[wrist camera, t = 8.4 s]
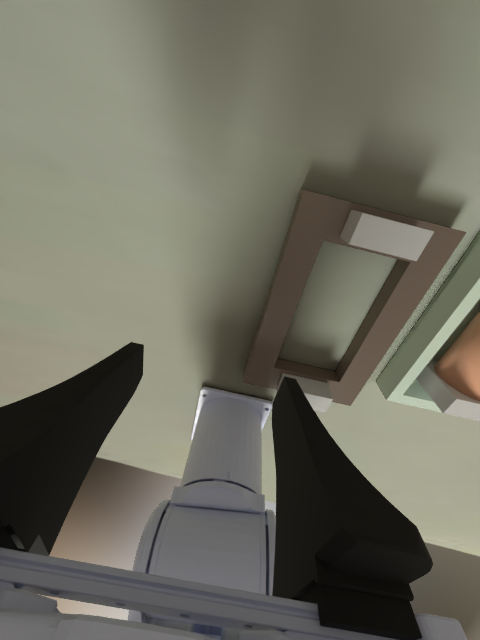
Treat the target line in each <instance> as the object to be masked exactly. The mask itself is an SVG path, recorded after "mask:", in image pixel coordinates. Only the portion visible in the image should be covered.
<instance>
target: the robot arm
mask: <svg viewBox="0 0 480 640" xmlns="http://www.w3.org/2000/svg"><path fill="white" fill-rule="evenodd" d="M143 349H144V345H142V344H137V343H133V342H131V343H129V344H128V345H126V346H124V347H123V348H121V349H120V350H118V351H116V352H115V353H113V354H112V355H110V356H108V357H107V358H105V359H104V360H102V361H100V362H99V363H97V364H95V365H94V366H92V367H90V368H88V369H87V370H85V371H83V372H81V373H79V374H77V375H76V376H74V377H72V378H70V379H68V380H66V381H64V382H62V383H60V384H58V385H55V386H53V387H51V388H49V389H47V390H44V391H42V392H40V393H37V394H35V395H32V396H30V397H27V398H24V399H22V400H19V401H17V402H14V403H12V404H9V405H6V406H3V407H0V640H467V638H466V636H465V634H464V631H463V629H462V627H461V625H460V623H459V622H458V621H457V620H456V619H452V618H447V617H442V616H436V615H430V614H414V613H413V610H412V607H411V604H410V601H412V600H413V597H414V596H413V594H412V591H411V589H410V586H409V583H411V582H413V581H415V580H416V579H418V578H420V577H422V576H424V575H425V574H427V573H428V572H430V570H431V568H432V566H433V562H432V559H431V557H430V555H429V552H428V550H427V548H426V546H425V544H424V541H423V539H422V537H421V535H420V533H419V531H418V529H417V527H416V526H415V525H414V524H413V523H412V522H411V521H410V520H409V519H408V518H406V517H405V516H404V515H403V514H402V513H401V512H400V511H399V510H398V509H397V508H395V507H394V506H393V505H392V504H391V503H390V502H389V501H388V500H387V499H386V498H385V497H384V496H383V495H382V494H381V493H380V492H379V491H378V490H377V489H376V488H375V487H374V486H373V485H372V484H371V483H370V482H369V481H368V480H367V479H366V478H365V477H364V476H363V475H362V474H361V472H360V471H359V470H358V469H357V468H356V467H355V466H354V465H353V463H352V462H351V461H350V460H349V459H348V458H347V456H346V455H345V454H344V453H343V451H342V450H341V449H340V448H339V446H338V445H337V444H336V442H335V441H334V440H333V438H332V437H331V436H330V434H329V433H328V431H327V430H326V429H325V427H324V426H323V424H322V423H321V421H320V420H319V418H318V416H317V415H316V413H315V411H314V410H313V408H312V407H311V405H310V403H309V401H308V400H307V398H306V396H305V394H304V393H303V391H302V389H301V387H300V385H299V384H298V382H297V380H296V379H294V378H290V377H285V376H284V378H283V380H282V383H281V385H280V387H279V390H278V392H277V394H276V397H275V399H274V401H273V406H272V402H271V401H269V400H264V399H260V398H255V397H250V396H246V395H241V394H237V393H232V392H228V391H223V390H218V389H214V388H209V387H202V388H201V391H200V395H199V400H198V405H197V410H196V415H195V420H194V425H193V430H192V436H191V440H192V444H191V447H190V451H189V455H188V459H187V463H186V466H185V470H184V474H183V478H182V482H181V486H180V487H177V486H175V487H174V490H173V494H172V497H171V500H164V501H162V502H161V503H160V504H159V506H158V507H157V508H156V509H155V510H154V511H153V512H152V514H151V515H150V517H149V519H148V521H147V524H146V526H145V528H144V531H143V533H142V536H141V539H140V543H139V546H138V549H137V553H136V557H135V561H134V566H133V571H129V570H124V569H118V568H112V567H107V566H101V565H96V564H90V563H85V562H79V561H73V560H68V559H62V558H56V557H51V556H49V554H50V552H51V550H52V548H53V545H54V543H55V541H56V538H57V536H58V533H59V532H60V529H61V527H62V525H63V523H64V520H65V518H66V516H67V514H68V512H69V510H70V508H71V505H72V503H73V501H74V499H75V497H76V495H77V493H78V491H79V489H80V486H81V485H82V482H83V480H84V479H85V477H86V475H87V473H88V471H89V469H90V467H91V465H92V462H93V461H94V459H95V457H96V455H97V453H98V451H99V449H100V447H101V445H102V443H103V442H104V440H105V438H106V437H107V435H108V433H109V432H110V430H111V429H112V427H113V426H114V424H115V422H116V421H117V419H118V418H119V416H120V415H121V413H122V412H123V410H124V408H125V407H126V405H127V404H128V402H129V401H130V399H131V397H132V396H133V394H134V392H135V390H136V388H137V386H138V384H139V382H140V380H141V378H142V376H143ZM204 394H206V395H204ZM271 409H272V430H273V441H274V453H275V464H276V516H275V514H274V512H273V511H272V510H266V511H265V504H264V503H265V496H264V495H262V442H261V432H262V430H263V427H264V425H265V423H266V420H267V418H268V416H269V413H270V411H271ZM38 594H40V595H38ZM41 595H46V596H52V597H58V598H64V599H70V600H76V601H81V602H87V603H94V604H99V605H105V606H111V607H117V608H123V609H128V610H129V615H128V621H126V620H119V619H112V618H106V617H100V616H92V615H82V614H75V615H74V614H63V613H60V612H59V611H58V609H57V608H56V607H57V601H56V600H53V599H50V598H47V597H44V596H41Z"/></svg>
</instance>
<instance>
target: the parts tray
mask: <svg viewBox="0 0 480 640" xmlns="http://www.w3.org/2000/svg"><path fill="white" fill-rule="evenodd" d="M479 311H480V232H479V233H478V235H477V236H476V238H475V239H474V241H473V242H472V243H471V245H470V246H469V248H468V249H467V251H466V252H465V253H464V255H463V256H462V258H461V259H460V261H459V262H458V264H457V265H456V266H455V268H454V269H453V271H452V272H451V274H450V275H449V277H448V278H447V279H446V281H445V282H444V284H443V285H442V287H441V288H440V290H439V291H438V292H437V294H436V295H435V297H434V298H433V300H432V301H431V302H430V304H429V305H428V307H427V308H426V310H425V311H424V313H423V314H422V315H421V317H420V318H419V320H418V321H417V323H416V324H415V326H414V327H413V328H412V330H411V331H410V333H409V334H408V336H407V337H406V338H405V340H404V341H403V343H402V344H401V346H400V347H399V349H398V350H397V351H396V353H395V354H394V356H393V357H392V359H391V360H390V362H389V363H388V364H387V366H386V367H385V369H384V370H383V372H382V373H381V375H380V376H379V377H378V379H377V380H376V383H377V385H378V386H379V388H380V390H381V392H382V393H383V395H384V397H385V399H386V400H388V401H393V402H397V403H402V404H406V405H411V406H415V407H420V408H424V409H429V410H433V411H438V412H442V411H441V410H440V409H439V408H438V406H437V405H436V404H435V402H434V401H433V400H432V399H431V397H430V396H429V395H428V394H427V392H426V391H425V390H424V389H423V387H422V386H421V385H420V384H419V382H418V381H417V380H416V378H417V376H418V375H419V374H420V373H421V371H422V370H423V369H424V368H425V366H426V365H427V364H428V363H429V361H430V360H436V361H439V359H440V358H441V357H442V356H443V354H444V353H445V352H446V351H447V350H448V348H449V347H450V346H451V345H452V344H453V342H454V341H455V340H456V339H457V337H458V336H459V335H460V334H461V333H462V331H463V330H464V329H465V328H466V327H467V325H468V324H469V323H470V322H471V320H472V319H473V318H474V317H475V316H476V314H477V313H478V312H479Z"/></svg>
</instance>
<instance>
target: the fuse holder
mask: <svg viewBox="0 0 480 640" xmlns="http://www.w3.org/2000/svg"><path fill="white" fill-rule="evenodd" d="M465 234H466V232H464V231H460V230H456V229H452V228H448V227H444V226H441V225H437V224H433V223H429V222H425V221H422V220H418V219H414V218H410V217H406V216H402V215H399V214H395V213H391V212H387V211H383V210H380V209H376V208H372V207H368V206H364V205H360V204H357V203H353V202H349V201H345V200H341V199H338V198H334V197H330V196H326V195H322V194H318V193H315V192H311V191H307V190H303V189H301V191H300V194H299V197H298V200H297V203H296V207H295V210H294V213H293V216H292V220H291V223H290V226H289V229H288V232H287V236H286V239H285V242H284V245H283V249H282V252H281V255H280V258H279V261H278V265H277V268H276V271H275V274H274V278H273V281H272V284H271V287H270V290H269V294H268V297H267V300H266V303H265V307H264V310H263V313H262V316H261V319H260V323H259V326H258V329H257V332H256V336H255V339H254V342H253V345H252V348H251V352H250V355H249V358H248V361H247V365H246V368H245V371H244V380H243V382H245V383H249V384H254V385H258V386H263V387H267V388H272V389H276V390H277V391H278V390H279V387H280V385H281V383H282V380H283V378H284V376H285V377H290V378H294V379H296V380H297V382H298V384H299V385H300V387H301V389H302V391H303V393H304V394H305V396H306V398H307V400H308V401H309V403H310V405H311V407H312V408H313V410H314V411H319V412H324V413H325V412H326V410H327V409H328V407H329V405H330V404H331V402H335V403H340V404H344V405H349V406H351V404H352V403H353V401H354V400H355V398H356V397H357V395H358V394H359V392H360V391H361V389H362V388H363V386H364V385H365V383H366V382H367V380H368V379H369V377H370V376H371V374H372V373H373V371H374V370H375V368H376V367H377V365H378V364H379V362H380V361H381V359H382V358H383V356H384V355H385V353H386V352H387V350H388V349H389V347H390V346H391V344H392V343H393V341H394V340H395V338H396V337H397V335H398V334H399V332H400V331H401V329H402V328H403V326H404V325H405V323H406V322H407V320H408V319H409V317H410V316H411V315H412V313H413V312H414V310H415V309H416V307H417V306H418V304H419V303H420V301H421V300H422V298H423V297H424V295H425V294H426V292H427V291H428V289H429V288H430V286H431V285H432V283H433V282H434V280H435V279H436V277H437V276H438V274H439V273H440V271H441V270H442V268H443V267H444V265H445V264H446V262H447V261H448V259H449V258H450V256H451V255H452V253H453V252H454V250H455V249H456V247H457V246H458V244H459V243H460V241H461V240H462V238H463V237H464V235H465ZM323 240H325V241H329V242H333V243H337V244H341V245H345V246H349V247H353V248H357V249H361V250H365V251H369V252H373V253H377V254H380V255H384V256H388V257H392V258H396V259H398V261H397V263H396V264H395V266H394V268H393V270H392V272H391V273H390V275H389V277H388V279H387V280H386V282H385V284H384V286H383V288H382V289H381V291H380V293H379V295H378V296H377V298H376V300H375V302H374V303H373V305H372V307H371V309H370V311H369V312H368V314H367V316H366V318H365V319H364V321H363V323H362V325H361V327H360V328H359V330H358V332H357V334H356V335H355V337H354V339H353V341H352V343H351V344H350V346H349V348H348V350H347V351H346V353H345V355H344V357H343V359H342V360H341V362H340V364H339V366H338V367H337V369H336V371H331V370H326V369H322V368H317V367H313V366H309V365H304V364H300V363H295V362H291V361H286V360H282V359H278V355H279V353H280V350H281V348H282V345H283V342H284V340H285V337H286V335H287V332H288V330H289V327H290V324H291V322H292V319H293V317H294V314H295V312H296V309H297V306H298V304H299V301H300V299H301V296H302V293H303V291H304V288H305V286H306V283H307V281H308V278H309V275H310V273H311V270H312V268H313V265H314V263H315V260H316V257H317V255H318V252H319V250H320V247H321V244H322V242H323Z"/></svg>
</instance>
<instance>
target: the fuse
mask: <svg viewBox="0 0 480 640" xmlns="http://www.w3.org/2000/svg"><path fill="white" fill-rule="evenodd" d="M416 380H417V381H418V382H419V384H420V385H421V386H422V387H423V389H424V390H425V391H426V392H427V394H428V395H429V396H430V397H431V399H432V400H433V401H434V402H435V404H436V405H437V406H438V408H439V409H440V410H441V411H442V413H444V414H449V415H453V416H458V417H462V418H467V419H471V420H476V421H480V311H479V312H478V313H477V314H476V316H475V317H474V318H473V319H472V320H471V322H470V323H469V324H468V325H467V327H466V328H465V329H464V330H463V331H462V333H461V334H460V335H459V336H458V337H457V339H456V340H455V341H454V342H453V344H452V345H451V346H450V347H449V348H448V350H447V351H446V352H445V353H444V354H443V356H442V357H441V358H440V359H439V361H436V360H430V361H429V363H428V364H427V365H426V366H425V368H424V369H423V370H422V371H421V373H420V374H419V375H418V376H417V378H416Z"/></svg>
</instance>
